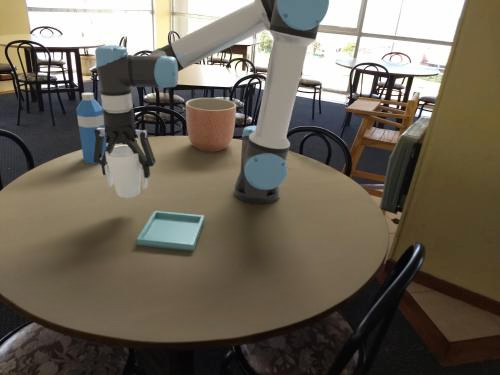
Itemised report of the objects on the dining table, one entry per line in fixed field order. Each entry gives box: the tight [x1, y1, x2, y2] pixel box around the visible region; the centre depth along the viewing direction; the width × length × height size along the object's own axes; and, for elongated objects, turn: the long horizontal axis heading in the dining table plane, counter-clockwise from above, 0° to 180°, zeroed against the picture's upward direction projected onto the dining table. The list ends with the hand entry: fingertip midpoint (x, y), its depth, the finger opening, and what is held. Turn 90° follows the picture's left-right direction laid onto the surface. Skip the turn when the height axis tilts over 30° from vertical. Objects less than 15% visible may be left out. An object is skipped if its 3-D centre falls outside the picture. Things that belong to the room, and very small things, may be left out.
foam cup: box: [105, 144, 142, 199], centre depth 105 cm, size 10×9×13 cm
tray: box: [136, 210, 205, 252], centre depth 102 cm, size 15×15×2 cm
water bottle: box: [76, 92, 108, 165], centre depth 138 cm, size 9×9×25 cm
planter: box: [185, 97, 237, 152], centre depth 159 cm, size 21×21×19 cm
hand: (127, 186), depth 107 cm, fingers closed on foam cup, 9 cm apart
